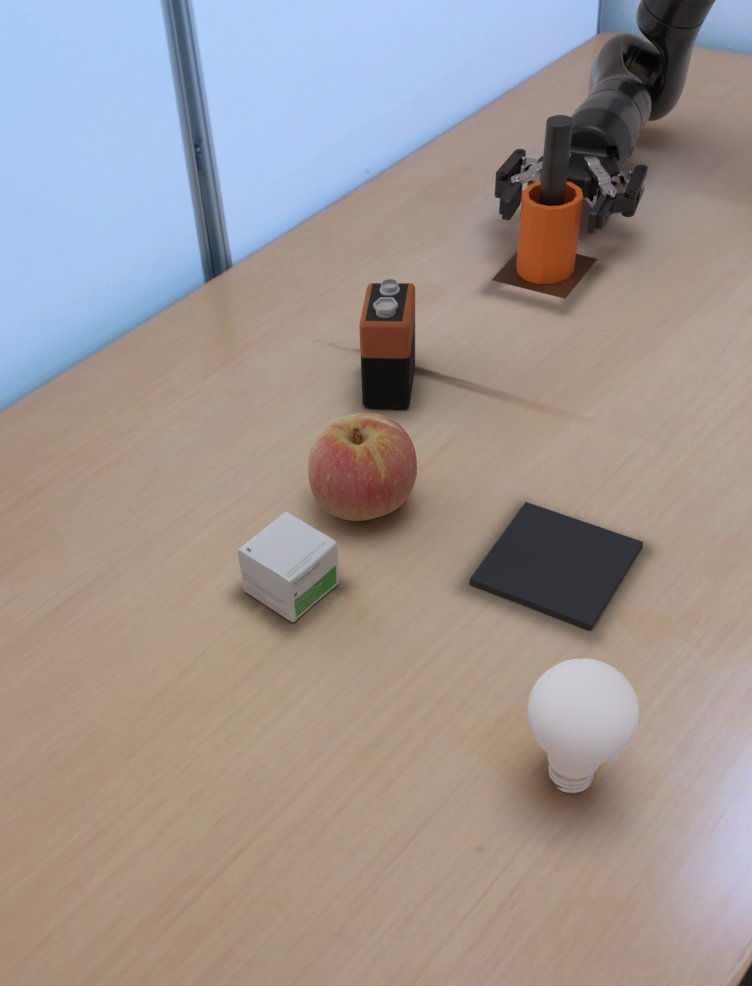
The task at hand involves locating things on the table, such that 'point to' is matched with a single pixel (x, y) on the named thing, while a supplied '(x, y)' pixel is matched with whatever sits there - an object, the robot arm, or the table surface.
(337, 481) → the apple
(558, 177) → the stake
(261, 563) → the small box
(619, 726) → the light bulb
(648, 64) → the robot arm
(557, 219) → the tube
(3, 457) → the table surface
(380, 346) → the battery
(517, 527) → the mat
